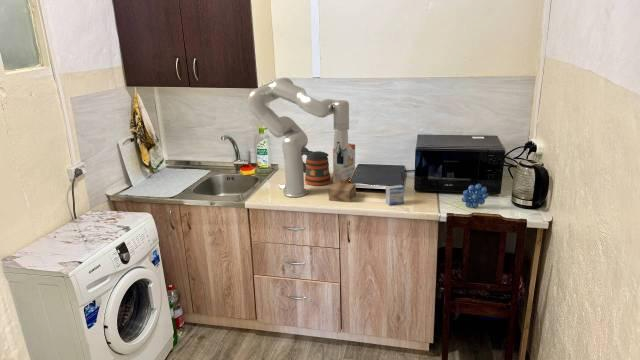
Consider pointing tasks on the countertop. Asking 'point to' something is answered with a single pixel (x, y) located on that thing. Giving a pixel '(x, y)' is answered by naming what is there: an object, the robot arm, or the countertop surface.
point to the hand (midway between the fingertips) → (341, 161)
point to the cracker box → (344, 166)
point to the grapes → (475, 195)
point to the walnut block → (342, 192)
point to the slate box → (345, 157)
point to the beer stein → (316, 168)
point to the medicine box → (394, 195)
